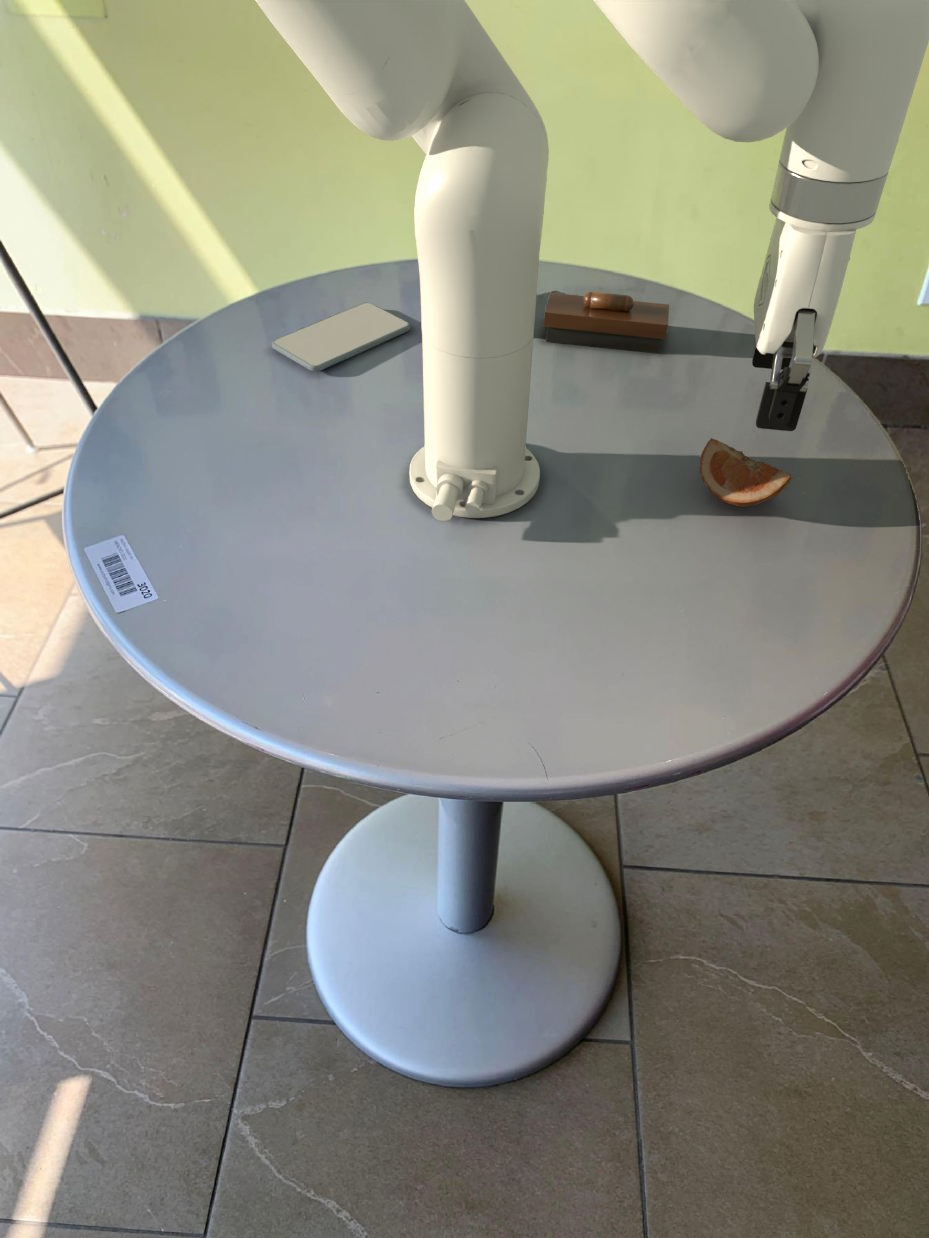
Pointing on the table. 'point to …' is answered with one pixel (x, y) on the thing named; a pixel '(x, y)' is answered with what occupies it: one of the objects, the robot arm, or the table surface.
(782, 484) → the fruit slice
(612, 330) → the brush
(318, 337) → the smartphone
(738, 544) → the table surface
